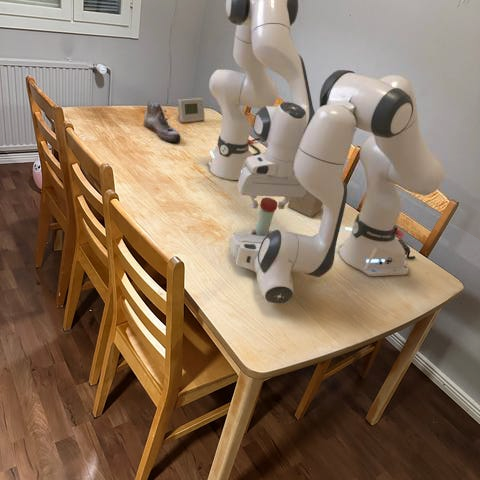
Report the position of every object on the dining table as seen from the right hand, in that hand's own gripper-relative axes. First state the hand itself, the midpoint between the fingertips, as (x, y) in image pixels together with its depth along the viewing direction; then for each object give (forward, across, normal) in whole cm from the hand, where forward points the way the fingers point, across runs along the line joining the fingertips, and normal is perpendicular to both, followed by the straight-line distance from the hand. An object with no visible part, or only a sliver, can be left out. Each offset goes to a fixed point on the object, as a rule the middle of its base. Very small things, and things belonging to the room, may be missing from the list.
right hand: (260, 231), depth 134 cm
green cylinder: (-1, 0, +6) cm, 6 cm away
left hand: (-1, 0, -9) cm, 9 cm away
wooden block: (+29, -23, +6) cm, 38 cm away
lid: (-1, 0, -11) cm, 11 cm away
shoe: (+86, +32, +6) cm, 92 cm away
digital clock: (+110, +18, +6) cm, 111 cm away
